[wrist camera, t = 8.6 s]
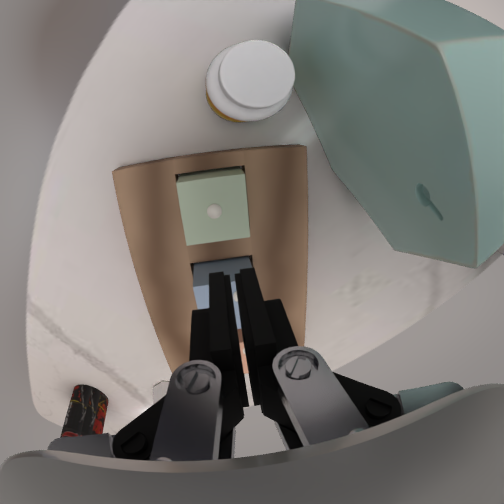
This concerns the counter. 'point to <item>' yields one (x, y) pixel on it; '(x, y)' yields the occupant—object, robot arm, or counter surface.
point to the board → (182, 256)
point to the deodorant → (85, 412)
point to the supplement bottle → (249, 81)
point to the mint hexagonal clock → (409, 117)
